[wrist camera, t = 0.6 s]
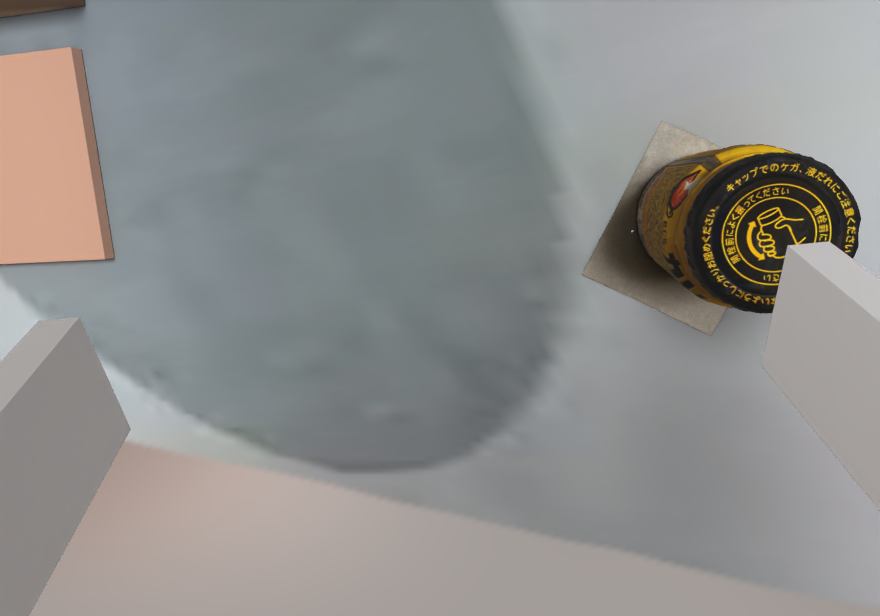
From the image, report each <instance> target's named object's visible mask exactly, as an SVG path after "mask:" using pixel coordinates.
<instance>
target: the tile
mask: <svg viewBox="0 0 880 616" xmlns="http://www.w3.org/2000/svg"><path fill="white" fill-rule="evenodd" d="M110 258H114V252H113V246H112V240H111V233H110V227H109V221H108V214H107V208H106V202H105V196H104V189H103V183H102V177H101V170H100V164H99V158H98V151H97V145H96V139H95V133H94V126H93V120H92V114H91V107H90V101H89V95H88V88H87V82H86V76H85V69H84V63H83V57H82V51H81V50H80V49H76V48H72V47H68V48H60V49H52V50H44V51H36V52H28V53H20V54H12V55H4V56H0V264H14V263H35V262H57V261H78V260H99V259H110Z"/></svg>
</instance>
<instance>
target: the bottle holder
mask: <svg viewBox="0 0 880 616" xmlns="http://www.w3.org/2000/svg"><path fill="white" fill-rule="evenodd" d="M80 6H85V1H84V0H0V18H1V17H9V16H16V15H23V14H30V13H37V12H44V11H51V10H58V9H65V8H73V7H80Z"/></svg>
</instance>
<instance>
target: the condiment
mask: <svg viewBox="0 0 880 616" xmlns="http://www.w3.org/2000/svg"><path fill="white" fill-rule="evenodd" d="M860 221H861V217H860V212H859V209H858V205H857V203H856V201H855V199H854V196H853V195H852V194H851V192H850V190H849V189H848V187H847V186H846V185H845V183H844V182H843V181H842V180H841V179H840V178H839V177H838V176H837V175H836V174H835V172H834V171H833V169H831V168H830V167H828V166H827V165H826V164H823V163H821V162H818V161H816V160H814V159H813V158H812V157H807V156H802V155H800V154H796V153H793V152H791V151H788V150H785V149H783V148H777V147H774V146H769V145H763V144H757V145H738V146H737V145H734V146H730V147H728V148H721V147H719V146H717V145H714V144H712V143H710V142H708V141H705V140H703V139H701V138H699V137H697V136H695V135H692V134H690V133H688V132H686V131H684V130H682V129H679V128H677V127H675V126H673V125H670V124H668V123H666V122H664V121H662V122H661V124H660V126H659V128H658V130H657V131H656V133H655V135H654V137H653V139H652V141H651V143H650V145H649V147H648V148H647V150H646V152H645V154H644V156H643V158H642V160H641V162H640V164H639V166H638V168H637V169H636V171H635V173H634V175H633V177H632V179H631V181H630V183H629V185H628V187H627V189H626V190H625V192H624V194H623V196H622V198H621V200H620V202H619V204H618V206H617V208H616V210H615V212H614V214H613V216H612V218H611V220H610V221H609V223H608V225H607V227H606V229H605V231H604V233H603V235H602V237H601V238H600V240H599V242H598V244H597V246H596V248H595V250H594V252H593V254H592V256H591V258H590V260H589V262H588V264H587V266H586V267H585V269H584V271H583V273H582V275H584V276H586V277H588V278H591V279H593V280H595V281H597V282H599V283H602V284H604V285H606V286H608V287H610V288H612V289H614V290H616V291H618V292H621V293H623V294H625V295H627V296H629V297H631V298H633V299H636V300H637V301H640V302H642V303H644V304H646V305H648V306H650V307H652V308H656V309H657V310H658V311H660V312H663V313H665V314H667V315H669V316H671V317H673V318H675V319H677V320H679V321H681V322H683V323H686V324H688V325H690V326H692V327H694V328H696V329H698V330H700V331H702V332H704V333H706V334H708V335H710V336H711V334H712V333H713V331H714V329H715V328H716V326H717V325H718V323H719V321H720V320H721V318H722V316H723V314H724V312H725V311H726V309H727V308H728V307H730V308H737V309H739V310H743V311H750V312H755V313H773V309H774V304H775V300H776V295H777V291H778V286H779V282H780V277H781V273H782V268H783V264H784V259H785V255H786V250H787V246H788V245H798V244H808V243H818V242H828V241H829V242H831V243H832V244H833V245H835V246H836V247H837V248H839V249H840V250H841V251H843V252H844V253H845V254H847V255H848V256H850V257H851V258H852V259H853V257H854V256H855V253H856V251H857V249H858V232H859V225H860ZM631 230H634V232H631Z"/></svg>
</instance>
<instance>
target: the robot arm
mask: <svg viewBox="0 0 880 616" xmlns="http://www.w3.org/2000/svg"><path fill="white" fill-rule="evenodd" d="M761 366H762V368H763V369H764V370H765V371H766V372H767V374H768V375H769V376H770V377H771V379H772V380H773V381H774V382H775V383H776V385H777V386H778V387H779V388H780V390H781V391H782V392H783V393H784V394H785V396H786V397H787V398H788V399H789V401H790V402H791V403H792V404H793V406H794V407H795V408H796V409H797V410H798V412H799V413H800V414H801V415H802V417H803V418H804V419H805V420H806V421H807V423H808V424H809V425H810V426H811V428H812V429H813V430H814V431H815V432H816V434H817V435H818V436H819V437H820V439H821V440H822V441H823V442H824V443H825V445H826V446H827V447H828V448H829V450H830V451H831V452H832V453H833V454H834V456H835V457H836V458H837V459H838V461H839V462H840V463H841V464H842V465H843V467H844V468H845V469H846V470H847V472H848V473H849V474H850V475H851V477H852V478H853V479H854V480H855V481H856V483H857V484H858V485H859V486H860V488H861V489H862V490H863V491H864V492H865V494H866V495H867V496H868V497H869V499H870V500H871V501H872V502H873V503H874V505H875V506H876V507H877V508H878V510H879V511H880V279H879V278H878V277H877V276H875V275H874V274H873V273H871V272H870V271H869V270H867V269H866V268H864V267H863V266H862V265H860V264H859V263H858V262H856V261H855V260H854V259H852V258H851V257H850V256H848V255H847V254H845V253H844V252H843V251H841V250H840V249H839V248H837V247H836V246H835V245H833V244H832V243H831V242H829V241H828V242H818V243H808V244H798V245H788V246H787V250H786V255H785V259H784V264H783V268H782V273H781V277H780V282H779V286H778V291H777V295H776V300H775V304H774V309H773V314H772V318H771V323H770V327H769V332H768V336H767V341H766V345H765V350H764V354H763V359H762V363H761ZM130 429H131V428H130V426H129V424H128V422H127V420H126V417H125V415H124V413H123V411H122V409H121V406H120V404H119V402H118V400H117V398H116V395H115V393H114V391H113V389H112V387H111V384H110V382H109V380H108V378H107V376H106V374H105V371H104V369H103V367H102V365H101V363H100V360H99V358H98V356H97V354H96V352H95V349H94V347H93V345H92V343H91V341H90V338H89V336H88V334H87V332H86V330H85V327H84V325H83V323H82V321H81V319H80V317H74V318H64V319H54V320H44V321H38V322H37V323H36V324H35V325H34V326H33V328H32V329H31V330H30V331H29V332H28V333H27V334H26V335H25V336H24V337H23V338H22V339H21V341H20V342H19V343H18V344H17V345H16V346H15V347H14V348H13V349H12V350H11V351H10V352H9V353H8V355H7V356H6V357H5V358H4V359H3V360H2V361H1V362H0V616H29V615H30V613H31V612H32V610H33V608H34V606H35V604H36V602H37V601H38V599H39V597H40V595H41V593H42V591H43V589H44V588H45V586H46V583H47V582H48V580H49V578H50V577H51V575H52V573H53V571H54V569H55V567H56V565H57V564H58V562H59V560H60V558H61V556H62V555H63V552H64V551H65V549H66V547H67V545H68V543H69V542H70V540H71V538H72V536H73V534H74V532H75V531H76V529H77V527H78V525H79V523H80V521H81V519H82V518H83V516H84V514H85V512H86V510H87V509H88V507H89V505H90V503H91V501H92V499H93V497H94V496H95V494H96V492H97V490H98V488H99V486H100V485H101V483H102V481H103V479H104V477H105V475H106V474H107V472H108V470H109V468H110V466H111V464H112V462H113V461H114V459H115V457H116V455H117V453H118V451H119V449H120V448H121V446H122V444H123V442H124V440H125V439H126V437H127V435H128V433H129V431H130Z"/></svg>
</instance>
